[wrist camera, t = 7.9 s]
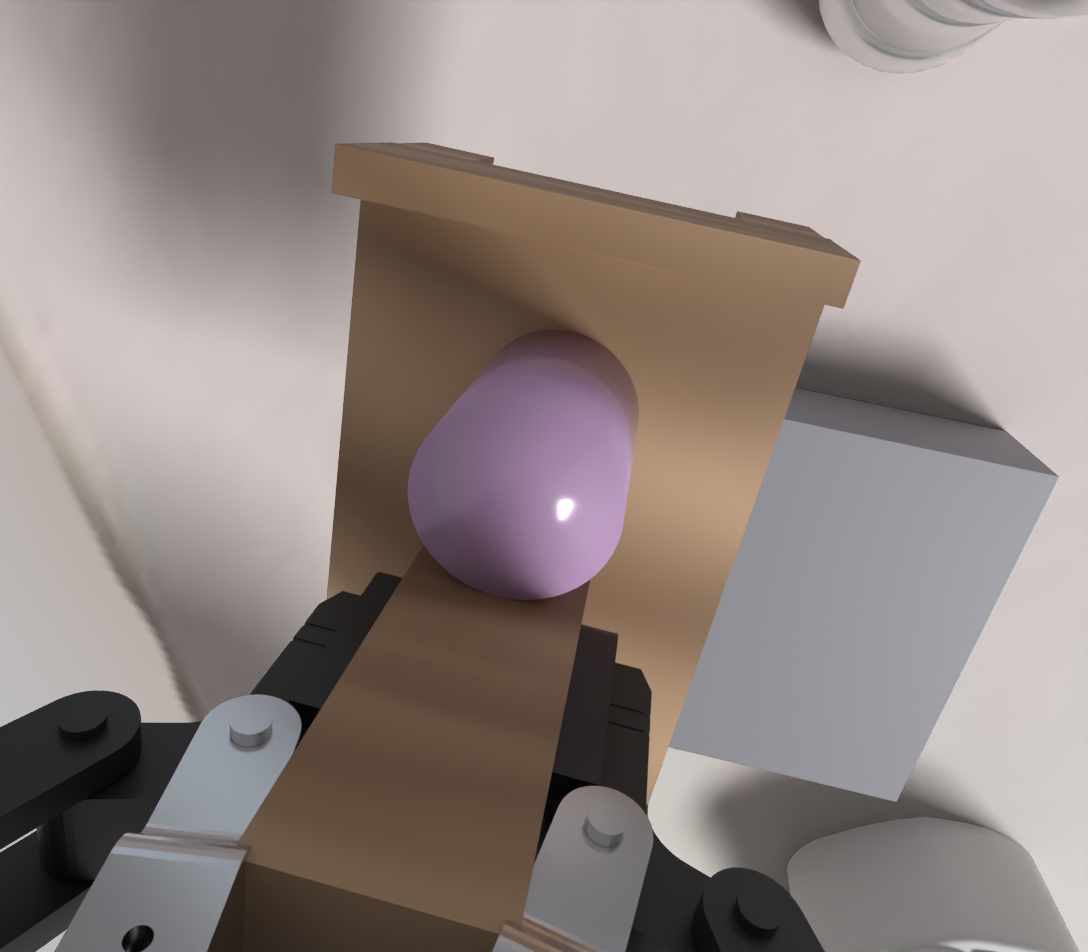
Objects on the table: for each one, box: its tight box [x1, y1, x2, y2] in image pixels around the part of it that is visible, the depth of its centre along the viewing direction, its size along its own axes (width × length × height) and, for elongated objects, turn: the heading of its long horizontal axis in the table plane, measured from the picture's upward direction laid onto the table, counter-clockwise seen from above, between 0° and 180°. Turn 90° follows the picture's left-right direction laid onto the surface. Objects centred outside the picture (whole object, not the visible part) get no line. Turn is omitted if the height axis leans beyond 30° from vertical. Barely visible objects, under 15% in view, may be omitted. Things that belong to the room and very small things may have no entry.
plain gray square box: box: [668, 388, 1059, 802], centre depth 35 cm, size 17×16×5 cm
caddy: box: [237, 143, 861, 952], centre depth 14 cm, size 15×9×14 cm, turn 169°
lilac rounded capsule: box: [408, 330, 639, 600], centre depth 14 cm, size 3×3×4 cm
